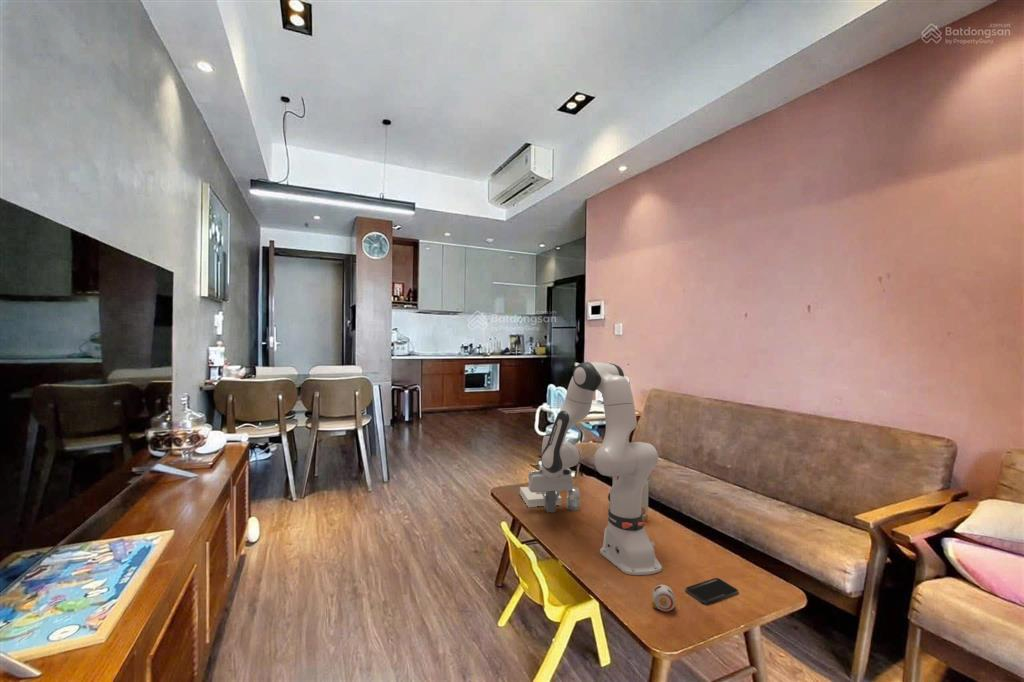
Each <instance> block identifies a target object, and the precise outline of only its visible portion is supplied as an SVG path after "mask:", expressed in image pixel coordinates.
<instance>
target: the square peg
mask: <svg viewBox="0 0 1024 682" xmlns="http://www.w3.org/2000/svg"><path fill="white" fill-rule="evenodd" d="M546 496H547V501H546V504H545V506H544V508H545V509H546V510H545V509H544V510H545V512H547V513H548V512H551V513H556V506H555V503H556V492H555V491H550V492H546Z"/></svg>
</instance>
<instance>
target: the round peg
mask: <svg viewBox="0 0 1024 682" xmlns="http://www.w3.org/2000/svg"><path fill="white" fill-rule="evenodd" d="M566 509H567V510H568V509H569V510H568V511H570V510H572V511H571V512H577V511H579V510H580V488H579V487H578V486H574V485H573V489H572V490H568V491H566ZM576 510H577V511H576Z"/></svg>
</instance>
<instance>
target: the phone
mask: <svg viewBox="0 0 1024 682" xmlns="http://www.w3.org/2000/svg"><path fill="white" fill-rule="evenodd" d="M684 589H685V593H686V594H688V595H689V596H690V597H692V598H693V599H695V600H696V601H697V602H699V603H701V604H702V605H704V606H710V605H712V604H716V603H717V602H720V601H723V600H726V599H730V598H732V597H733V596H737V595H739V590H738V589H737V588H736V587H734V586H732V584H729V583H728V582H726V581H724V580H723V579H721V578H718V577H714V578H712V579H708V580H705V581H702V582H699V583H696V584H692V585H689V586H687V587H685V588H684Z"/></svg>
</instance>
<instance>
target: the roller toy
mask: <svg viewBox="0 0 1024 682" xmlns="http://www.w3.org/2000/svg"><path fill="white" fill-rule="evenodd" d="M652 597H653V600H652V602H651V605H652V607H653V608H655V609H658V610H660V611H662V612H671V610H673V609H674V608H675V606H676V598H675V594H674V591H673V589H672V588H671V587H670V586H668V585H665V584H658V585H656V586H655V587H654V588H653V590H652Z"/></svg>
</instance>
